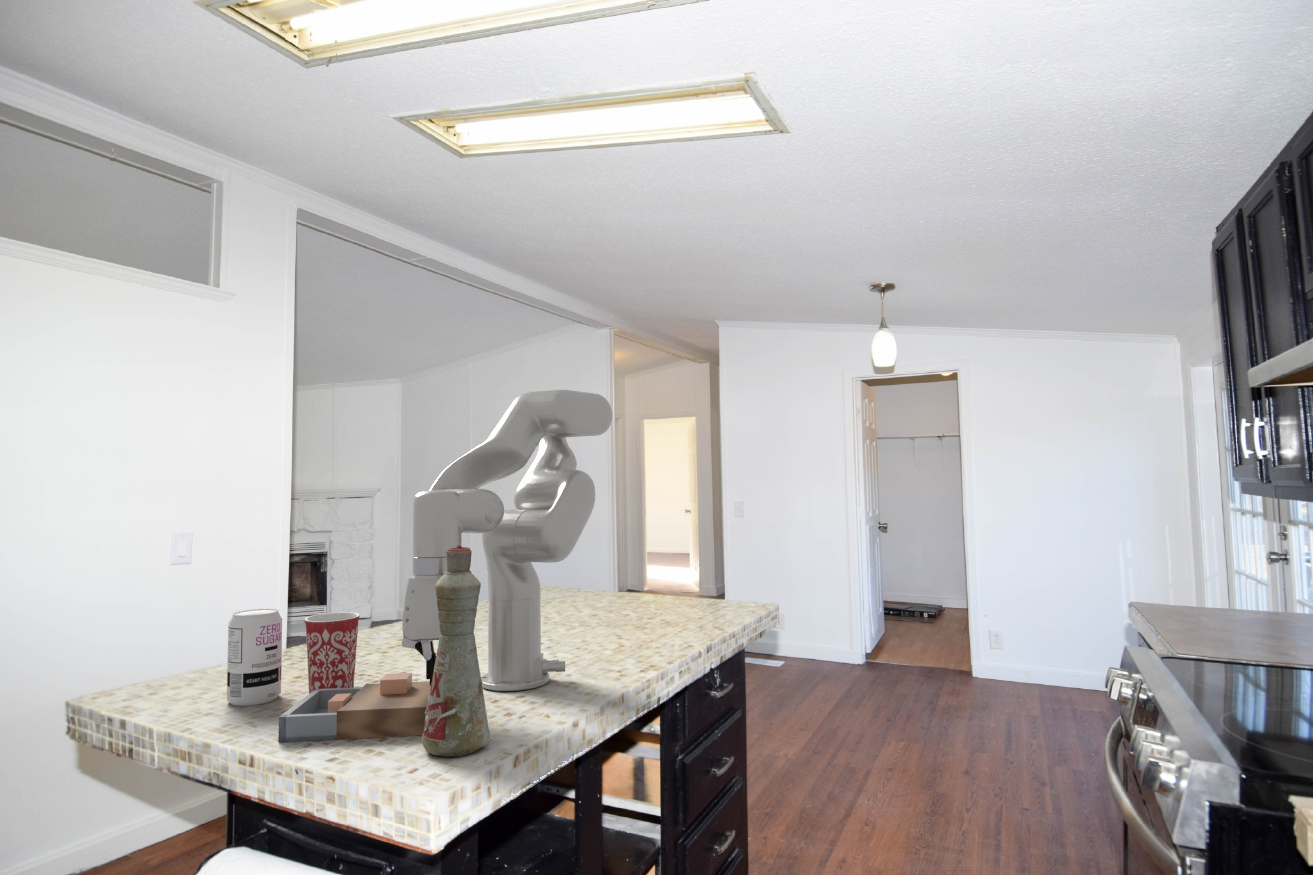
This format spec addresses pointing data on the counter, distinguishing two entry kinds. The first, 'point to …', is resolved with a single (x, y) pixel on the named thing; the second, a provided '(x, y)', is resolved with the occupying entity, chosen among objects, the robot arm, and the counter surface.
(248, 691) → the supplement can
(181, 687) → the counter surface
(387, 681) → the tile
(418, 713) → the brown square platform
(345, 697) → the tile
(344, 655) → the mug
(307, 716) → the box
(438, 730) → the bottle
